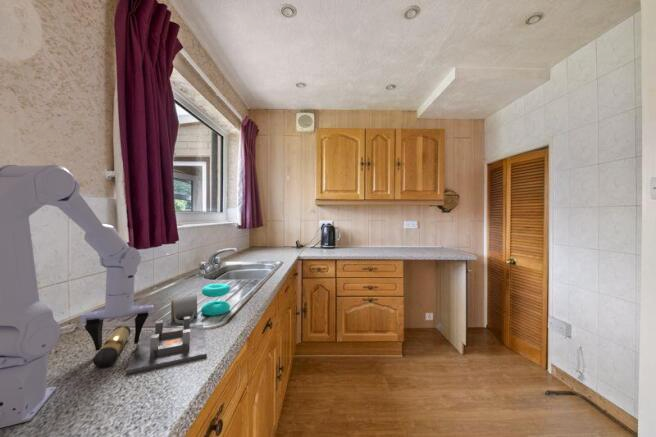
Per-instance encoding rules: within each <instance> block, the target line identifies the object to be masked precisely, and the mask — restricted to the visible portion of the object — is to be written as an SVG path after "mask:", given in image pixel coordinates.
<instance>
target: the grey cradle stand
mask: <svg viewBox="0 0 656 437" xmlns="http://www.w3.org/2000/svg"><path fill="white" fill-rule="evenodd" d="M183 320H184V324H182V325H183V326H182V327H176V328H170V329H164V320H163V319H160V320H156V322H155V327H154V328H155V329H154V330H155V331H152V332H144V333H141V334H140V337H139V342H138V344H137V345H136V347H135V349H134V350H133V351H134V352H133V353H132V356H131V358H130V360H129V363H128V365H127V367H126V370H125V376H127V375H132V374H138V373H142V372H147V371H151V370H156V369H160V368H165V367H169V366H174V365H178V364H183V363H187V362H192V361H196V360H198V361H199V360H202V359H206V358H207V356H208V355H207V344H206V338H205V330H204V324H203V323H201V324H195V325H191V321H190V316H188V317H184V318H183Z"/></svg>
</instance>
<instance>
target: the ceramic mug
mask: <svg viewBox="0 0 656 437" xmlns="http://www.w3.org/2000/svg"><path fill="white" fill-rule="evenodd" d="M188 316H190V322H192V321H193V319H194V318H196V317H198V295H197V294H192V295H191V294H190V295H186V296H180V297H176V298H173V299H171V302H170V317H171V319H172V320H174V322H175V323H176V324H178V325H183V324H182V323H184V317H188Z"/></svg>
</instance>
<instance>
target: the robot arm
mask: <svg viewBox="0 0 656 437" xmlns="http://www.w3.org/2000/svg"><path fill="white" fill-rule="evenodd" d="M80 189H81V183H80V182H79V181H78V180H77V179H75V177H74V175H73V173H72V172H71V171H69V169H67V168H66V167H64V166H61V165H58V164H47V165H17V164H6V165H2V166H0V429H2V428H6V427H10V426H13V425H17V424H21V423H26V422H29V421H31V420H32V419H33V418H34V417H35V415H36V414H37V413H38V412H39V411H40V410H41V408H42V407H43V406H44V405H45V403H47V401H48V399H50V397H51V396H52V395H53V393H54V392H55V391H56V389H57V386H51V387H47V378H48V376H47V374H48V359H49V358H48V356H49V355H48V354H50V353H51V352H52V349H53V348H54V347H55V346H56V345H57V343H58V342H59V340H60V338H61V334H62V327H61V325H60V324H59V323H58V321H56V320H55V318H54V313H53V310H52V309H51V308H49V307H48V306H47V305H46V304H44V303H43V302H42V301H40V296H39V294H40V293H39V287H38V286H39V285H38V280H37V273H36V265H35V264H36V263H35V256H34V250H33V248H34V247H33V241H32V240H33V239H32V233H31V226H30V216H31V215H33V214H35V213H36V212H37V211H38V210H40V209H41V208H42V207H44V206H52V207H56V208H58V209H59V210H61V211H62V212H63V213H64V215H66V216H67V217H68V218H69V219H70V220H72V222H74V223H75V224H76V225H77V226H78V227H79V228H81V229H82V230H83V231H84V232H85V233H84V237H83V239H84V241H85V242H86V244H88V245H89V246H91V248H92V249H93V250H94V251H95V252H96V253H97V254H98V257H99V263H100V265H101V266H102V267H104V268H106V278H105V281H106V282H105V299H104V300H105V302H104V304H105V305H104V309H99V310H95V311H88V312H83V313H82V314H80V319H79V322H80V323H79V324H84V323H85V325H84V328H85V330H86V331H87V334H88V335H89V336H90V338H91V340H92V341H93V344H94V349H95V351H96V352H98V351H99V350H100V349H101V348H102V346H103V329H104V328H103V326H104V321H105V320H109V319H116V318H123V317H124V318H125V317H132V316H135V318H134V325H135V326H134V328H135V329H134V339H133V340H134V342H133V344H134V345H136V344H138V342H139V339H140V337H141V334H142V329H143V327H144V325H145V322H146V321H147V319H148V317H149V315H153V314H154V312H155V311H154V306H155V305H154V304H146V305H134V301H135V300H134V299H135V298H134V296H135V275H136V274H137V272H138V267H139V265H140V263H141V261H142V256H141V254H140V251H139V250H138V249H137V248H135V246H134V247H133V246H129V244H128V243H127V241H126V240H125V239H123V237H122V236H121V235H120V234H119V232H118V231H117V228H116V227H115V226H113V225H111V224H107V223H103V222H102V221H101V219H100V218H99V216H97V214H96V213H95V211H94V210H93V208H92V207H91V206H90V204H89V203H88V202H87V200H86V199H85V197H84V196H83V194H82V193H81V190H80Z"/></svg>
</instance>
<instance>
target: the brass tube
mask: <svg viewBox="0 0 656 437" xmlns="http://www.w3.org/2000/svg"><path fill="white" fill-rule="evenodd" d="M131 332H132V330H131V328H130V327H129V325H125V324H124V325H123V324H121V325H119V326H116V327H115V328H114V329H113V330H112V332H111V333H110V335H109V336H108V338H107V339H106V340H105V342H104V343H103V344H102V347H101V349H100V350H98V351H97V352H96V354H95V355H94V357H93V365H94V366H95V367H97V368H100V369H105V368H109V367H111V366H112V365H114V363H115V362H116V361H117V359H118V358H119V354H121V351H122V349H123V347H124V345H125V343H126V341H127V339H128V338H129V337H130V335H131Z"/></svg>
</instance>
